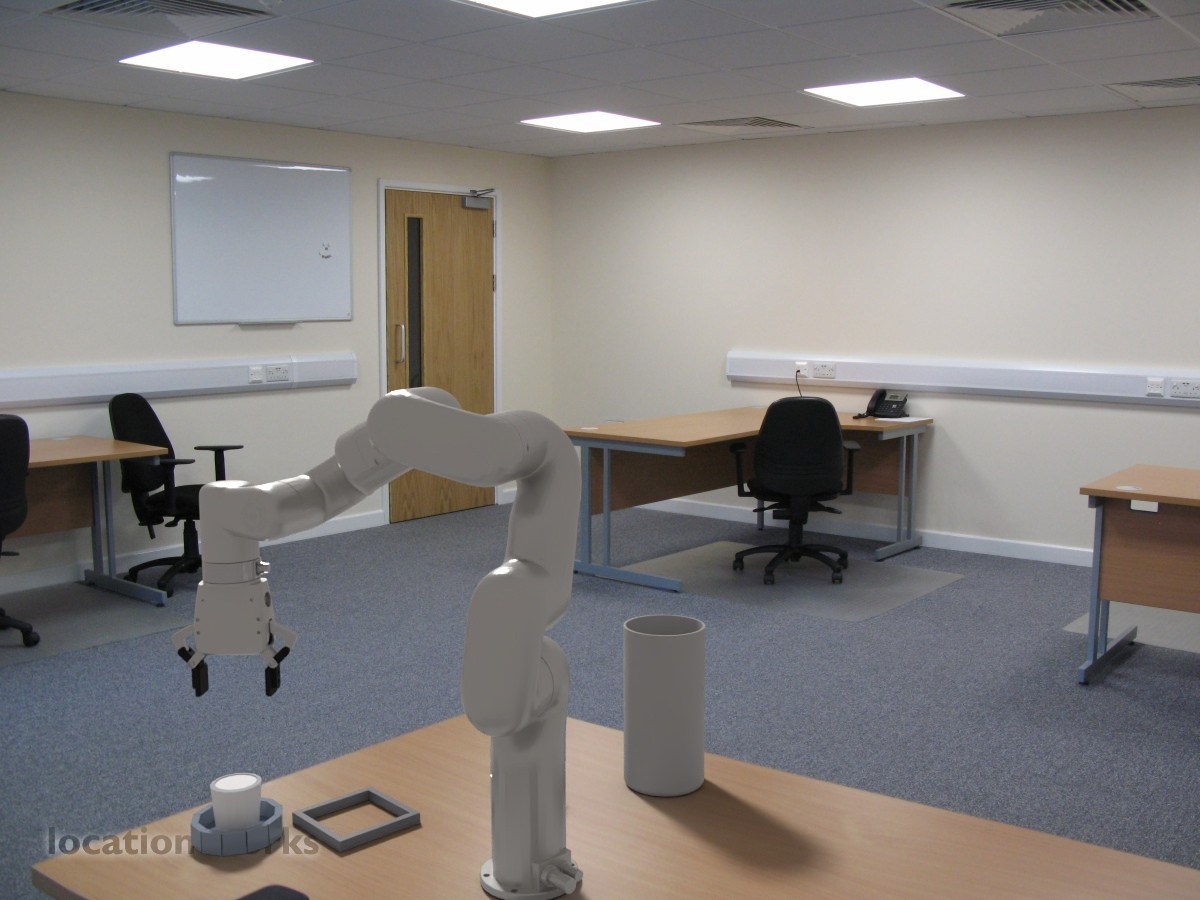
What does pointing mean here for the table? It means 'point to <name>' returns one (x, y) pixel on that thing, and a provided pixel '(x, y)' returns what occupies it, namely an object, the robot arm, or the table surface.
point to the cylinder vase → (664, 704)
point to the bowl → (237, 831)
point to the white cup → (236, 801)
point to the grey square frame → (405, 820)
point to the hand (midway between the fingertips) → (237, 693)
